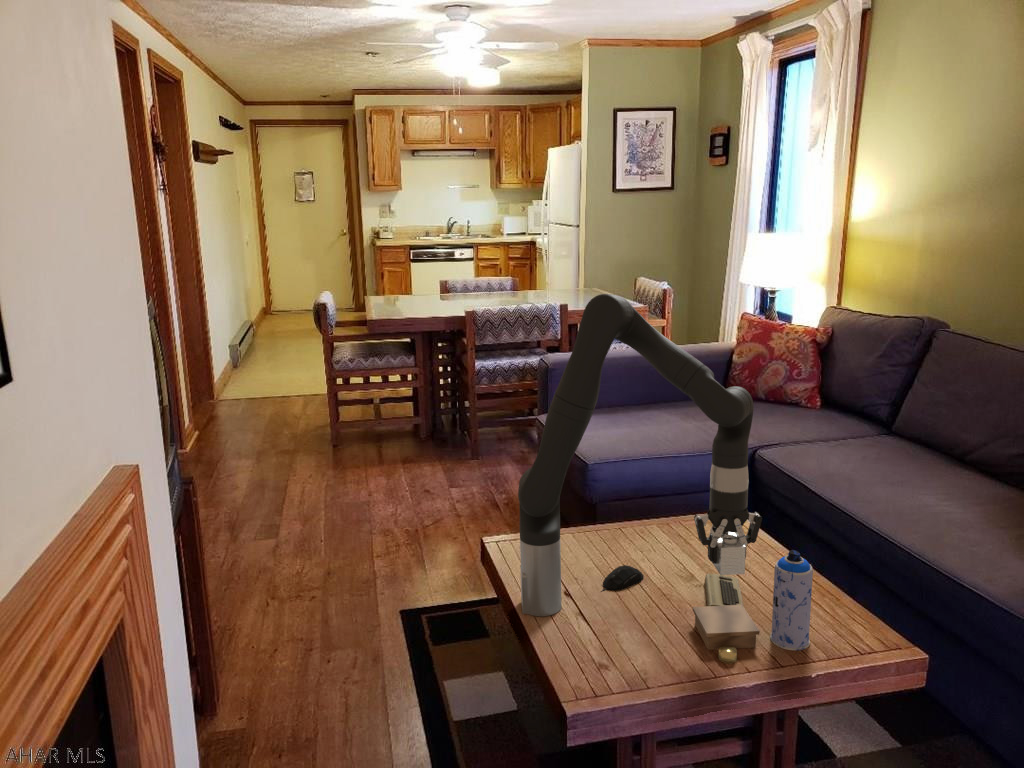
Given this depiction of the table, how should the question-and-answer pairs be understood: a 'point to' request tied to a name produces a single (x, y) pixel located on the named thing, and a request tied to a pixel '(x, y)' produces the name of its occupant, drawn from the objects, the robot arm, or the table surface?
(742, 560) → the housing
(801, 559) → the aerosol can
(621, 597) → the table surface
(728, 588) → the computer
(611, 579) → the gaming mouse
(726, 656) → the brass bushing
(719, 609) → the stand
